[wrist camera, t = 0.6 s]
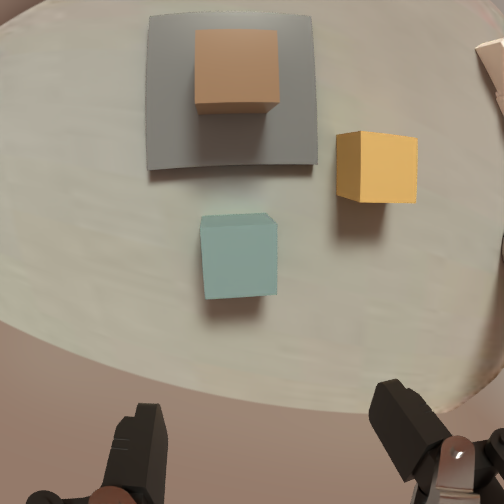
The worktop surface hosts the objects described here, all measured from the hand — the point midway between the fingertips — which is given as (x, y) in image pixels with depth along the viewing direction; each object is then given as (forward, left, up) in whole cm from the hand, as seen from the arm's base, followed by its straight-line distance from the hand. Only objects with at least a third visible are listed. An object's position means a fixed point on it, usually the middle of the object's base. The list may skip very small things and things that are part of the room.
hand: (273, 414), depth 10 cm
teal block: (0, -1, -19) cm, 19 cm away
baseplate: (0, -15, -19) cm, 24 cm away
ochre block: (-12, -8, -19) cm, 24 cm away
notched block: (-33, -20, -20) cm, 44 cm away
